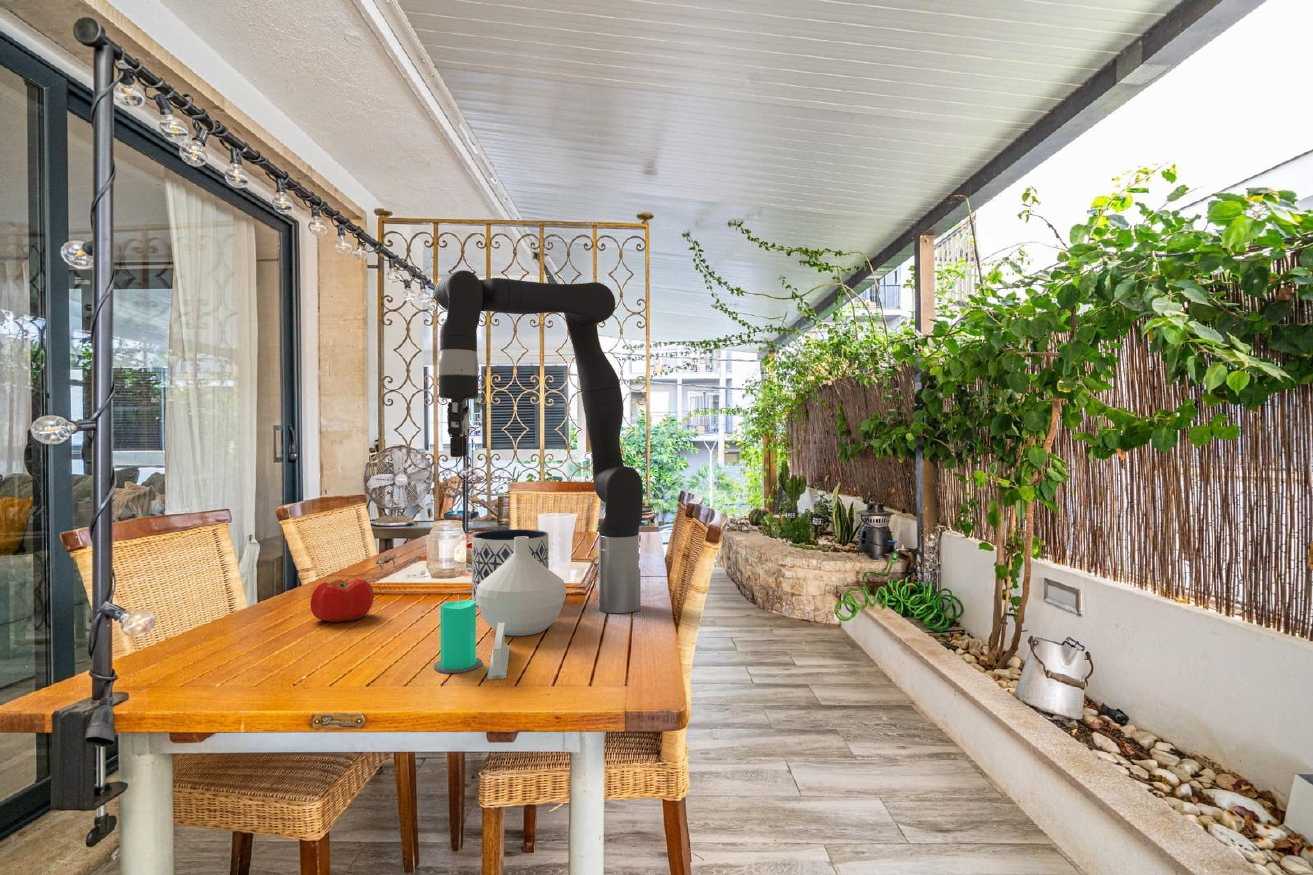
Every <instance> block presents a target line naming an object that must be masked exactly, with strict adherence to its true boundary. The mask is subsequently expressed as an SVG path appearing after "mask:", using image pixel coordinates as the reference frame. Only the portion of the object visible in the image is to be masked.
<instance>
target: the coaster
mask: <svg viewBox="0 0 1313 875" xmlns="http://www.w3.org/2000/svg"><path fill="white" fill-rule="evenodd" d="M482 663H483V660H482V659H481V658H480V657H477V656H476V663H475V665H473V666H471V667H468V668H464V669H454V670H451V669H444V668H442V667H441V659H440V660H438V661H436V662H435V663H434V664H433V670H434V671H435V670H436V671H435V672H437V671H438V673H440V672H442V673H441V674H447V673H453V674H464V673H468V672H471V671H475V670H477V669H479V668H480V667H481V666H483V664H482ZM453 674H452V675H453Z"/></svg>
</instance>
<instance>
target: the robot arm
mask: <svg viewBox="0 0 1313 875" xmlns="http://www.w3.org/2000/svg"><path fill="white" fill-rule="evenodd" d="M434 297H435V300H436V302H437V303H438V305H440V306H441V308H443V309H445V310H447V313H446V318H445V320H444V321H443V322H442V324H441V326H440V330H439V351H440V352H439V358H438V397H439V398H440V399H445V400H450V401H448V403H447V410H446V413H447V433H448V434H447V435H448V436H449V438H450V440H449V441H450V442H449V446H450V449H449V451H450V452H449V453H450V454H449V455H450V457H452V458H461V457H466V456H467V454H468V437H469V433H470V430H469V429H470V416H471V409H470V407H469V405H467V400H476V399H478V398H479V358H478V333H477V331H478V326H479V323H480V317H481V313H482V312H493V313H501V314H512V315H535V314H551V313H552V314H553V313H555V314H561V313H563V316H564V320H565V323H566V326H567V330H568V334H569V337H570V341H571V344H572V349H573V354H574V357H575V364H576V368H577V374H578V382H579V386H580V387H579V389H580V394H581V399H582V407H583V411H584V415H585V421H586V426H587V427H586V428H587V432H588V433H587V434H588V438H589V443H590V450H591V461H592V476H593V488H594V491H595V493H596V496H597V497H598V498H599V500H601V501H602V502H604V503H605V513H604V514H605V515H604V518H603V520H601V521H600V523H599V525H598V534H599V535H598V548H599V549H598V566H599V567H598V572H599V574H598V580H599V581H598V593H599V594H598V597H599V599H598V605H599V606H598V607H599V610H600V611H601V612H604V613H608V614H627V613H633V612H638V611H641V610H642V609H641V604H642V603H641V602H642V601H641V600H642V599H641V598H642V597H641V596H642V595H641V594H642V593H641V582H642V581H641V580H642V579H641V568H640V559H639V558H640V553H639V552H640V548H639V546H640V543H639V541H640V539H639V538H640V535H639V534H640V531H639V530H640V527H641V523H642V519H643V507H644V506H643V504H644V503H643V502H644V501H643V500H644V499H643V497H644V486H643V480H642V476H641V475H640V473H639V472H638V471H637V469H635V468H633V467H631V466H626V465H624V461H623V456H622V451H621V443H620V442H621V430H622V426H623V419H624V401H623V394H622V389H621V382H620V380H619V376H618V374H617V372H616V370H615V369H614V367H613V365H612V364H611V362H610V361H609V359H608V357H607V356H606V354H605V353H604V351H603V348H602V346H601V343H600V338H599V333H598V324H600V323H603V322H605V321H607V320H608V319H609V318H611V316H613V314H614V312H615V310H616V298H615V294H614V293H613V292H612V290H611V289H610V287H608V286H607V285H605V284H604V283H601V282H596V281H594V282H593V281H591V282H584V283H549V282H548V283H547V282H538V281H537V282H536V281H529V280H528V281H527V280H519V279H513V278H512V279H511V278H503V277H492V278H491V277H490V278H487V279H479V277H478V276H477V275H476V274H475V273H474V272H471V271H469V270H465V269H464V270H463V269H462V270H457V271H455V272H452V273H451V274H448V275H445V276H444V277H442V278H441V279H439V280H438V282H437V283H436V285H435V286H434Z"/></svg>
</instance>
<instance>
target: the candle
mask: <svg viewBox="0 0 1313 875" xmlns="http://www.w3.org/2000/svg"><path fill="white" fill-rule="evenodd" d="M459 597H460V596H459V594H457V601H446V602H444V603H442V604H441V605H440V607H439V608H440V616H439V617H440V618H439V619H440V623H439V624H440V626H439V627H440V634H439V635H440V637H439V638H440V644H439V645H440V650H439V651H440V660H441V667H442V668H444V669H451V670H454V669H464V668H468V667H471V666H473V665H475V663H476V657H477V606H476V602H475V601H473V600H472V599H463V600H460V598H459Z"/></svg>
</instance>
